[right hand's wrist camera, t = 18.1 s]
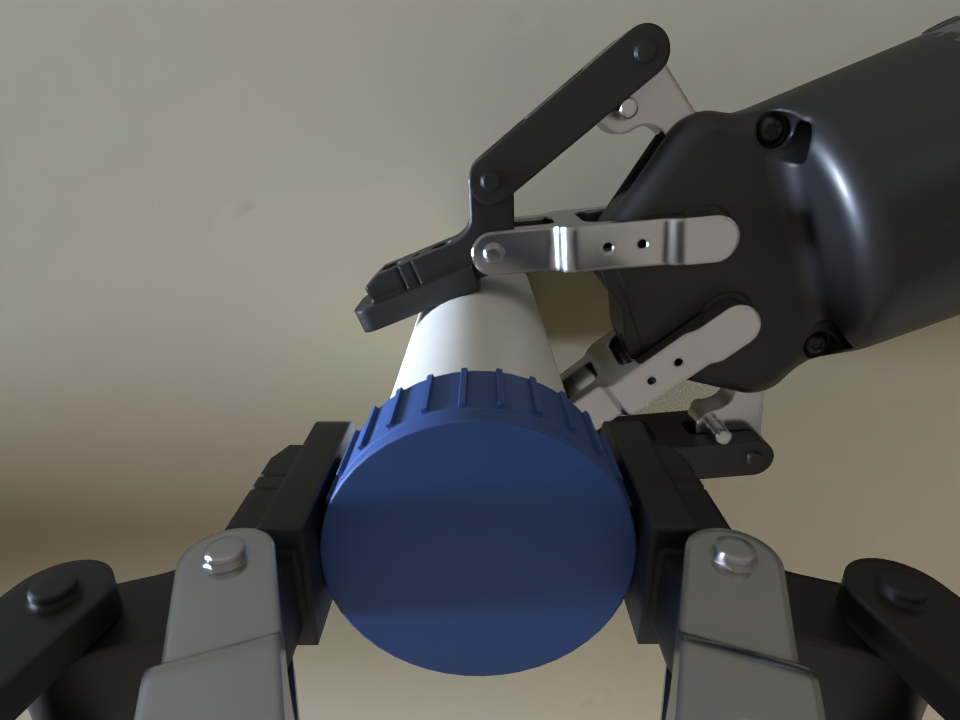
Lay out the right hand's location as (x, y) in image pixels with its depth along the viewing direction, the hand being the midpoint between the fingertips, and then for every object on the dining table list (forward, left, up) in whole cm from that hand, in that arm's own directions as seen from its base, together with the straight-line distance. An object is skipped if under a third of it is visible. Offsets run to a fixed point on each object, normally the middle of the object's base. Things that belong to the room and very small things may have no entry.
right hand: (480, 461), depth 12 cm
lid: (0, 0, +3) cm, 3 cm away
